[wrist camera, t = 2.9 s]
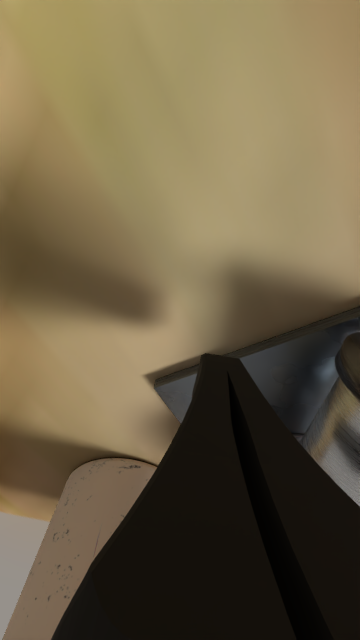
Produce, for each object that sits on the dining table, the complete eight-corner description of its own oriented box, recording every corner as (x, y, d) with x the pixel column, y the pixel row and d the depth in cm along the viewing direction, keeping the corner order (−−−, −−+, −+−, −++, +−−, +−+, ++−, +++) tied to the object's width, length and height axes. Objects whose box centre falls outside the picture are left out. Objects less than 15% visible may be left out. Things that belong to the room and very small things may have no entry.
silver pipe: (309, 495, 17) (348, 613, 13) (239, 486, 17) (253, 602, 13) (430, 334, 11) (599, 461, 6) (317, 318, 10) (405, 435, 6)
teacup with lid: (45, 488, 20) (-100, 801, 10) (106, 434, 17) (-33, 849, 7) (167, 540, 24) (146, 811, 14) (241, 504, 20) (285, 846, 10)
